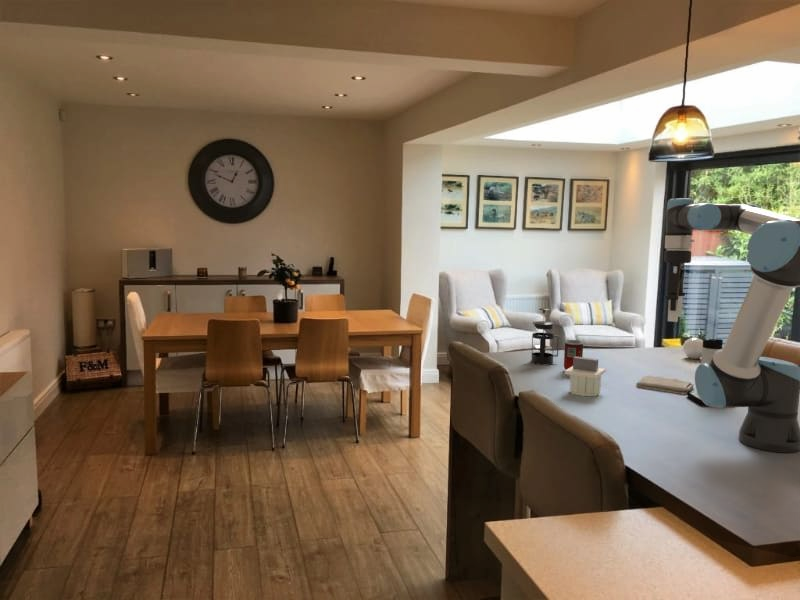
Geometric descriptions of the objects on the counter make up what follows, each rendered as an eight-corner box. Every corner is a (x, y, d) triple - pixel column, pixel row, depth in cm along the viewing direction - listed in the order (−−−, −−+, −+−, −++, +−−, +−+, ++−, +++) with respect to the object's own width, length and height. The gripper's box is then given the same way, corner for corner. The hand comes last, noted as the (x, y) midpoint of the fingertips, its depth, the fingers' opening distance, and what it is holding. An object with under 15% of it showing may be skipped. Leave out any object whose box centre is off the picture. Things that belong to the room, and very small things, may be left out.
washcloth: (688, 396, 223) (688, 387, 222) (634, 388, 233) (635, 380, 232) (694, 389, 233) (694, 380, 232) (642, 381, 242) (643, 373, 242)
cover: (596, 378, 216) (597, 363, 216) (564, 373, 222) (565, 359, 222) (605, 372, 226) (606, 357, 225) (574, 368, 231) (575, 353, 231)
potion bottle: (679, 359, 286) (716, 367, 280) (681, 350, 278) (719, 358, 272) (683, 341, 290) (719, 348, 284) (685, 331, 281) (723, 338, 275)
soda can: (581, 374, 252) (583, 343, 250) (563, 372, 254) (564, 342, 252) (582, 370, 258) (583, 340, 257) (564, 368, 260) (565, 339, 259)
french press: (528, 363, 269) (530, 309, 266) (530, 359, 278) (531, 306, 275) (557, 365, 266) (559, 310, 263) (558, 360, 275) (560, 307, 272)
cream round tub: (596, 398, 218) (597, 378, 217) (566, 394, 222) (567, 374, 222) (602, 391, 226) (603, 372, 225) (574, 387, 231) (575, 368, 230)
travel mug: (708, 397, 219) (712, 340, 217) (695, 392, 225) (698, 336, 223) (723, 396, 221) (728, 339, 218) (709, 391, 227) (713, 336, 225)
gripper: (688, 250, 183) (684, 324, 185) (694, 249, 205) (690, 315, 207) (660, 250, 186) (656, 322, 188) (669, 249, 208) (665, 314, 210)
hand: (674, 319), depth 198 cm, fingers open, 13 cm apart
